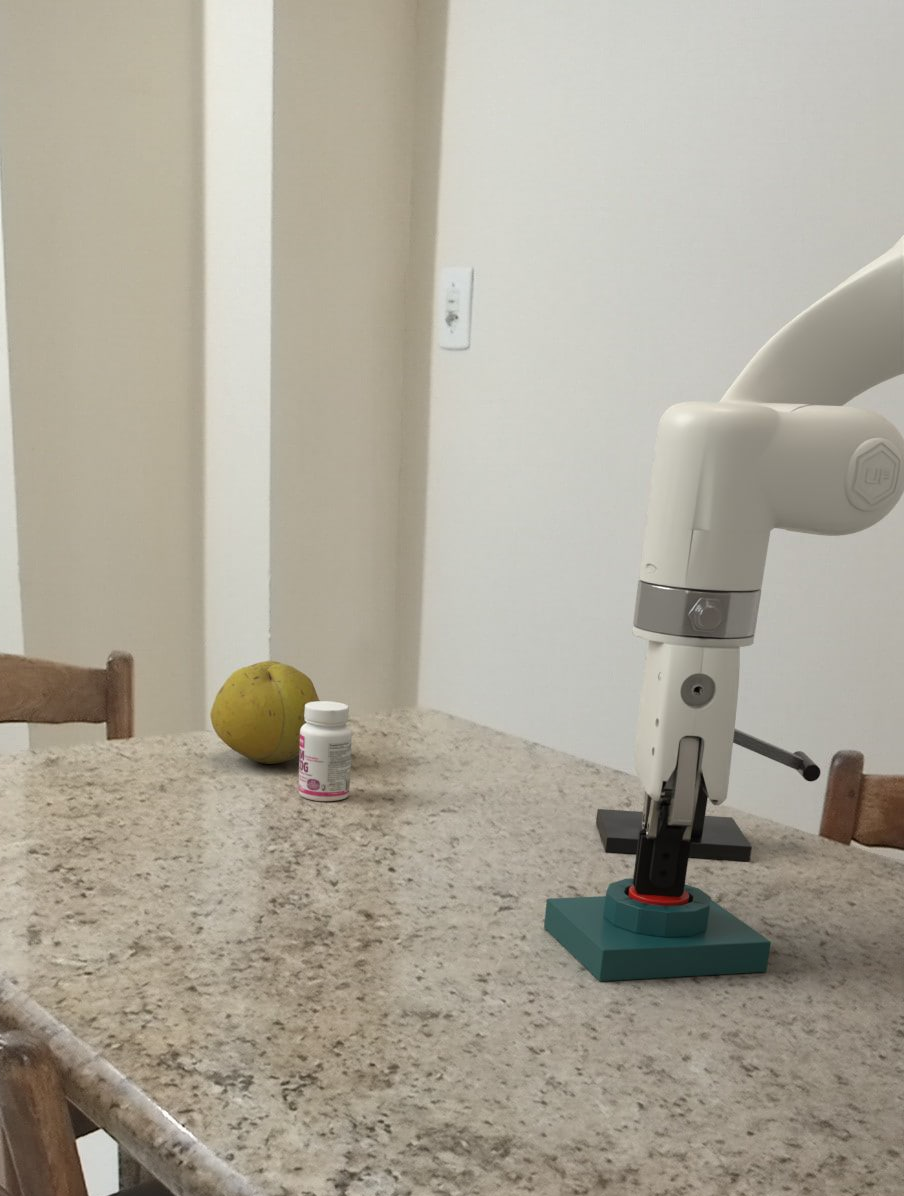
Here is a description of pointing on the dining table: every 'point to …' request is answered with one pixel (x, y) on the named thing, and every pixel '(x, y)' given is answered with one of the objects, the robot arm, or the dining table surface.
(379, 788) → the dining table surface
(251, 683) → the fruit
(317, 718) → the pill bottle
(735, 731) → the switch lever
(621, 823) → the switch bracket
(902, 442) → the robot arm
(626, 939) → the button block
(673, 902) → the stop button
